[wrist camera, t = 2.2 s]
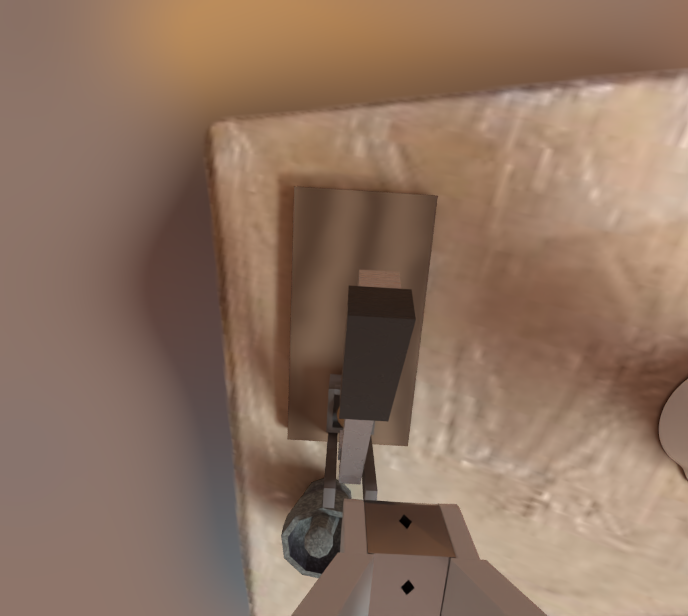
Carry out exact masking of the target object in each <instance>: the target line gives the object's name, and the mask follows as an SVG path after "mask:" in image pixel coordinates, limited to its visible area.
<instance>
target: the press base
mask: <svg viewBox="0 0 688 616" xmlns="http://www.w3.org/2000/svg"><path fill="white" fill-rule="evenodd" d="M437 198H438V196H435V195H419V194H404V193H388V192H373V191H357V190H341V189H326V188H310V187H295V186H294V218H293V256H292V294H291V331H290V369H289V406H288V439H291V440H309V441H326V442H327V454H326V467H325V479H324V493H323V508H334V503H335V488H336V462H337V442H339V436H340V430H343V427H342V426H341V425H340V423H339V422H338V419H337V411H338V408H339V406H340V389H341V377H342V364H343V351H344V339H345V326H346V314H347V301H348V288H349V285H350V286H358V278H359V270H373V271H389V272H399V275H400V284H401V289H412V296H413V303H414V310H415V317H416V321H415V325H414V328H413V332H412V336H411V339H410V343H409V347H408V350H407V354H406V358H405V362H404V365H403V369H402V373H401V376H400V380H399V384H398V387H397V391H396V395H395V398H394V402H393V406H392V410H391V413H390V417H389V421H388V422H387V421H374V422H373V427H372V431H371V436H370V441H369V445H368V450H367V455H366V459H365V464H364V469H363V473H362V484H363V500H376V501H377V483H376V474H375V465H374V456H373V447H372V444H379V445H396V446H408V440H409V431H410V423H411V415H412V406H413V398H414V390H415V381H416V373H417V365H418V356H419V348H420V340H421V331H422V323H423V315H424V306H425V298H426V290H427V281H428V273H429V265H430V256H431V248H432V240H433V231H434V223H435V215H436V206H437Z"/></svg>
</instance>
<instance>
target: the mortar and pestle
mask: <svg viewBox="0 0 688 616" xmlns="http://www.w3.org/2000/svg"><path fill="white" fill-rule="evenodd" d="M324 479H325V478H324ZM324 479H321V480H318V481H315V482H312V483H311V484H310V486H309V487H308V489H307V490H306V491H305V493H304V495H303V496H302V497H301V498H300V499H299V500H298V502H297V503H296V505H295V506H294V507H293V509H292V510H291V511H290V513H289V514H288V516H287V518H286V520H285V523H284V525H283V530H282V535H281V538H282V545H283V553H284V558H285V559H286V560H287V561H288V562H289V563H290V564H291V565H292V566H293V567H294V568H295V569H296V570H298V571H299V572H300V573H301V574H302V575H306V576H311V577H315V578H320V576H321V575H322V573H323V572H324V571H325V569H326V568H327V567H328V565H329V564H330V563H331V561H332V560H333V559H334V557H335V556H336V555H337V553H340V544H341V528H342V515H343V502H344V498H345V499H351V491H350V490H349V489H348V488H347V487H346V486H345V485H344V484H343V483H339V480H336V488H335V503H334V508H323V493H324Z"/></svg>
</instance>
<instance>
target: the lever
mask: <svg viewBox="0 0 688 616" xmlns="http://www.w3.org/2000/svg"><path fill="white" fill-rule="evenodd" d="M415 321H416V317H415V310H414V303H413V296H412V289H401V284H400V275H399V272H389V271H373V270H359V278H358V286H350V285H349V288H348V301H347V314H346V326H345V339H344V351H343V364H342V377H341V389H340V409H339V419H344V425H343V430H340V436H339V451H338V460H340V465H339V483H346V484H360V483H361V478H362V473H363V469H364V464H365V459H366V455H367V450H368V445H369V441H370V436H371V431H372V427H373V422H374V421H387V422H388V421H389V417H390V413H391V410H392V406H393V402H394V398H395V395H396V391H397V387H398V384H399V380H400V376H401V373H402V369H403V365H404V362H405V358H406V354H407V350H408V347H409V343H410V339H411V336H412V332H413V328H414V325H415Z"/></svg>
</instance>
